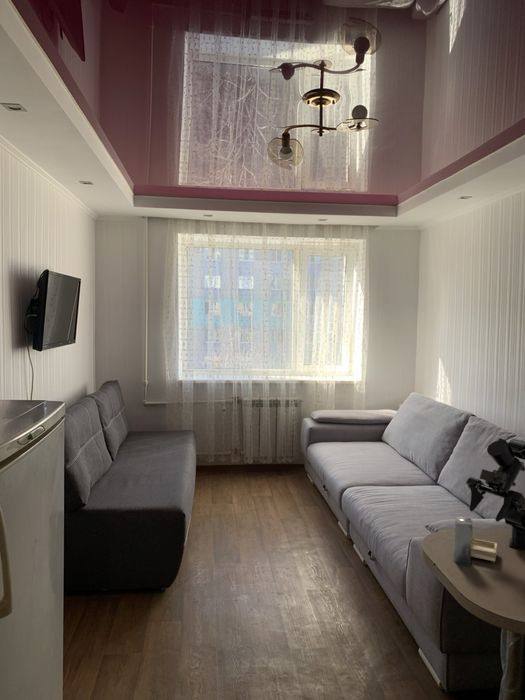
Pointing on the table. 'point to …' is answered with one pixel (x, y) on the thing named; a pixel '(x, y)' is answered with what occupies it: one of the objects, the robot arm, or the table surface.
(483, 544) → the square wooden tray
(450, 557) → the table surface
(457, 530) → the canister
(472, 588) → the table surface
